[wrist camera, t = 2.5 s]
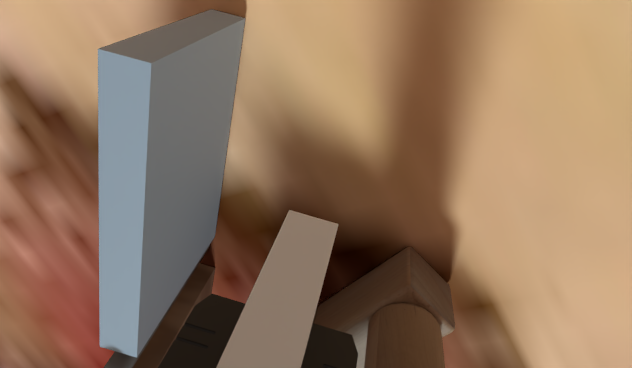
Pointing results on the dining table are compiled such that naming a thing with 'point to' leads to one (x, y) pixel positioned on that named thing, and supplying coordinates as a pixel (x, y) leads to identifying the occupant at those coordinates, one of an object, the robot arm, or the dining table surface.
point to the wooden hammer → (394, 314)
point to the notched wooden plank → (170, 321)
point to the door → (160, 165)
